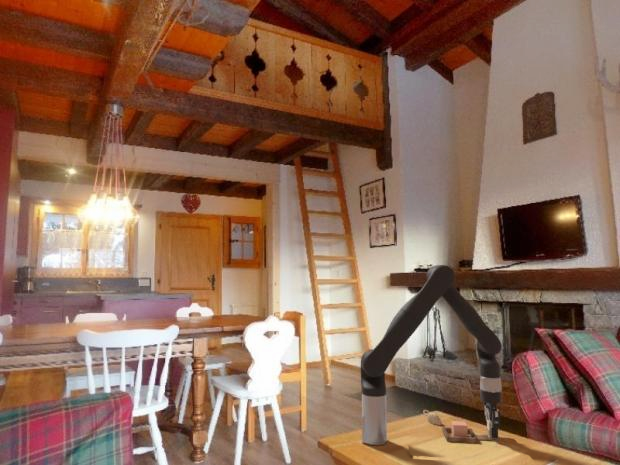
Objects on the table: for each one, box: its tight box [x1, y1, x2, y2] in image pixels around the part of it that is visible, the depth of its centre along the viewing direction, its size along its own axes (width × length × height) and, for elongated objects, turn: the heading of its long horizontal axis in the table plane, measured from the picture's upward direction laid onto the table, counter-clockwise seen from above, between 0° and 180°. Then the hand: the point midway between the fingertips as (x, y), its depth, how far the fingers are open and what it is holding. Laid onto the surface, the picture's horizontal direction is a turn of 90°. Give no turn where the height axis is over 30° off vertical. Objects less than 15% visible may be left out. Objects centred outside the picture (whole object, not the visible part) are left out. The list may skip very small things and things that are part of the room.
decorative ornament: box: [423, 409, 443, 426], centre depth 182 cm, size 4×8×5 cm, turn 29°
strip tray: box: [441, 420, 500, 444], centre depth 164 cm, size 19×11×7 cm, turn 82°
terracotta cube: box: [450, 420, 468, 437], centre depth 165 cm, size 5×5×5 cm
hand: (492, 434), depth 163 cm, fingers open, 5 cm apart
